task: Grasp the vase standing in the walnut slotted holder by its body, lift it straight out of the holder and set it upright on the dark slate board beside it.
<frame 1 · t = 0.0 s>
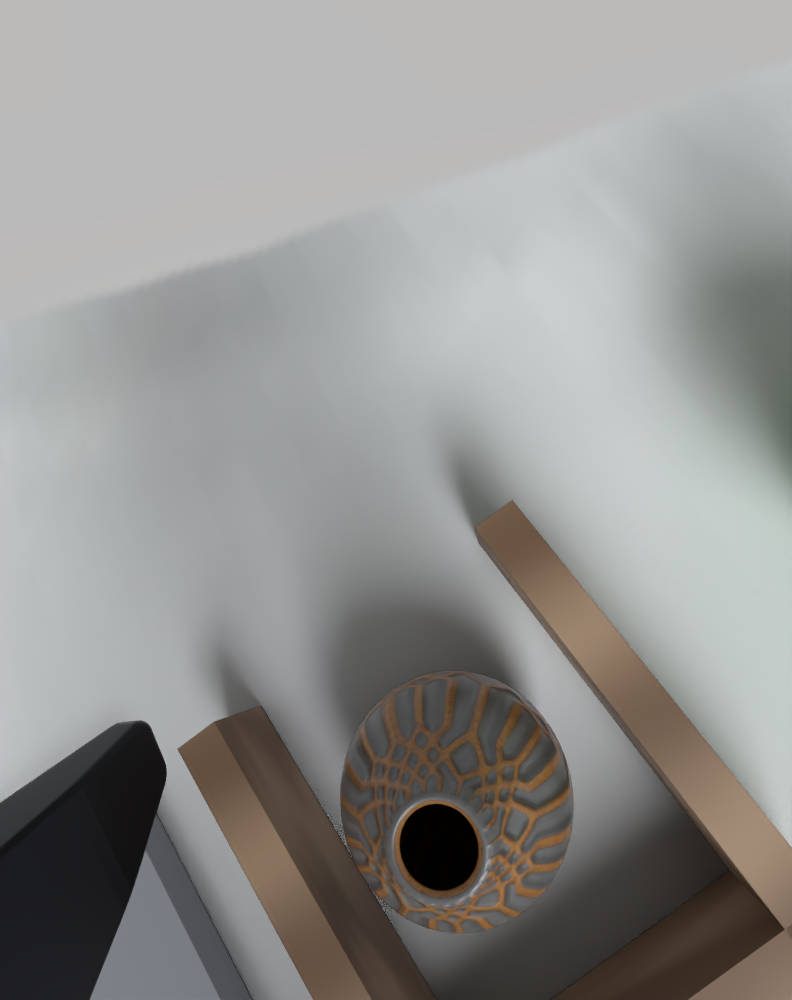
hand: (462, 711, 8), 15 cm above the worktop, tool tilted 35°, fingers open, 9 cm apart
vase: (463, 761, 22), on the worktop
holder: (462, 762, 22), on the worktop
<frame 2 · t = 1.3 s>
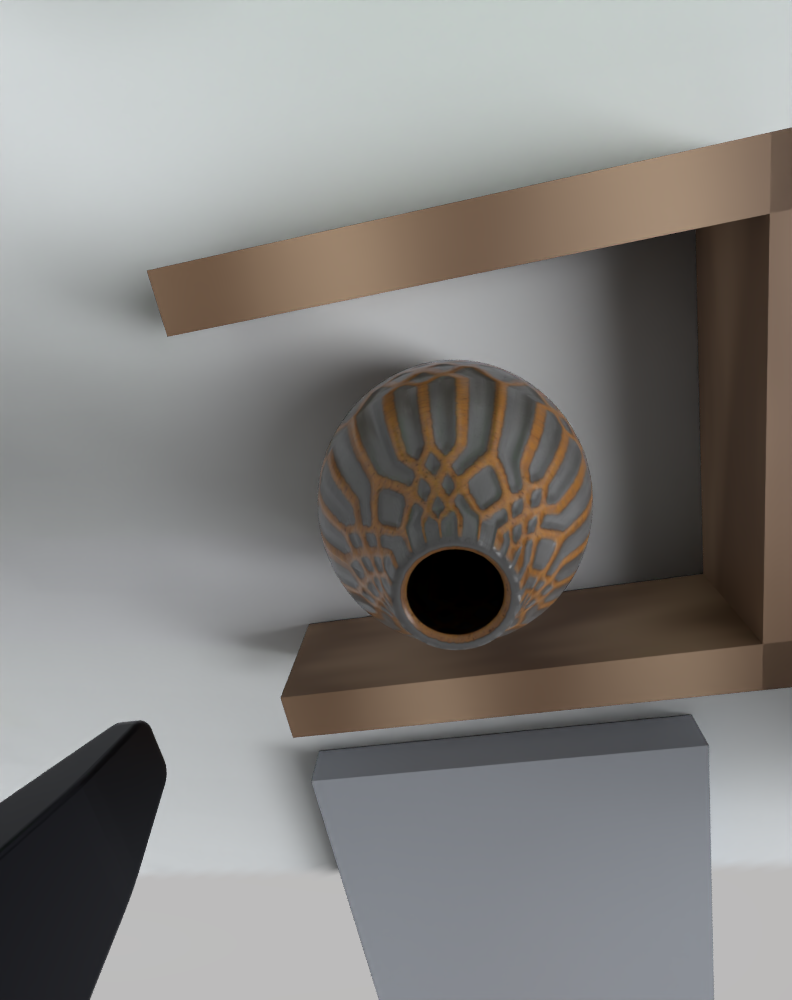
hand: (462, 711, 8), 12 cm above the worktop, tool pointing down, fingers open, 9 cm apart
vase: (450, 455, 19), on the worktop
board: (520, 867, 25), on the worktop
holder: (450, 457, 19), on the worktop
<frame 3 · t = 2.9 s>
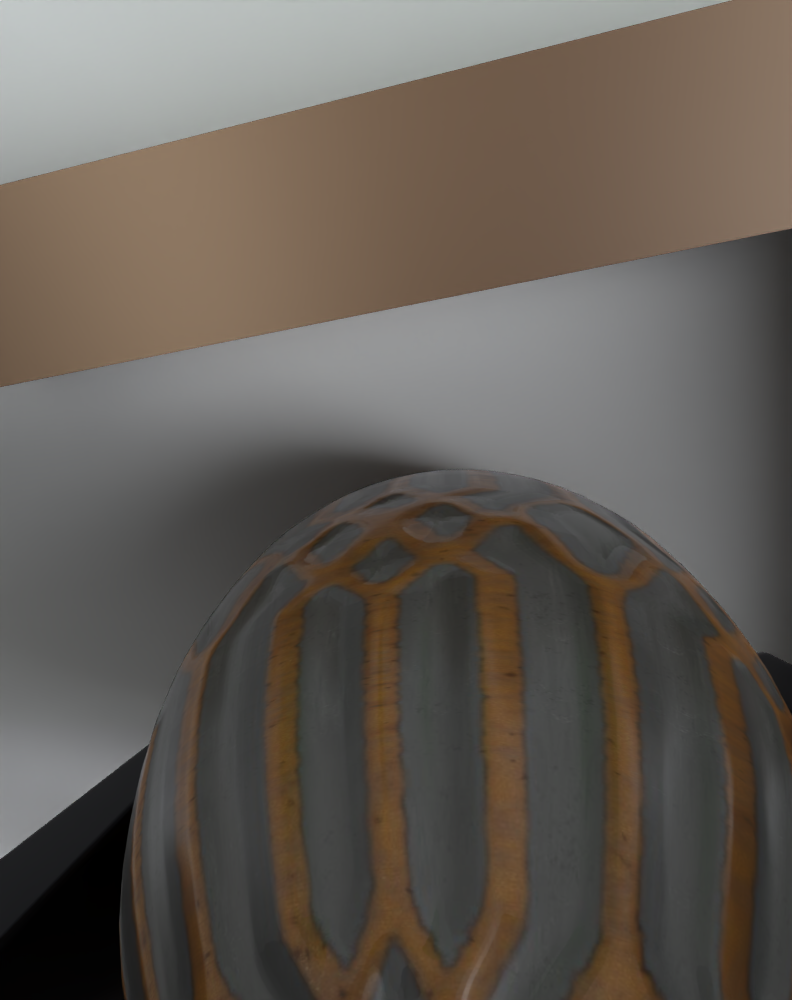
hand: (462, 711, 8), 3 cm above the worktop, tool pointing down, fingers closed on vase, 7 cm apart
vase: (456, 606, 11), on the worktop, touching gripper
holder: (456, 613, 10), on the worktop
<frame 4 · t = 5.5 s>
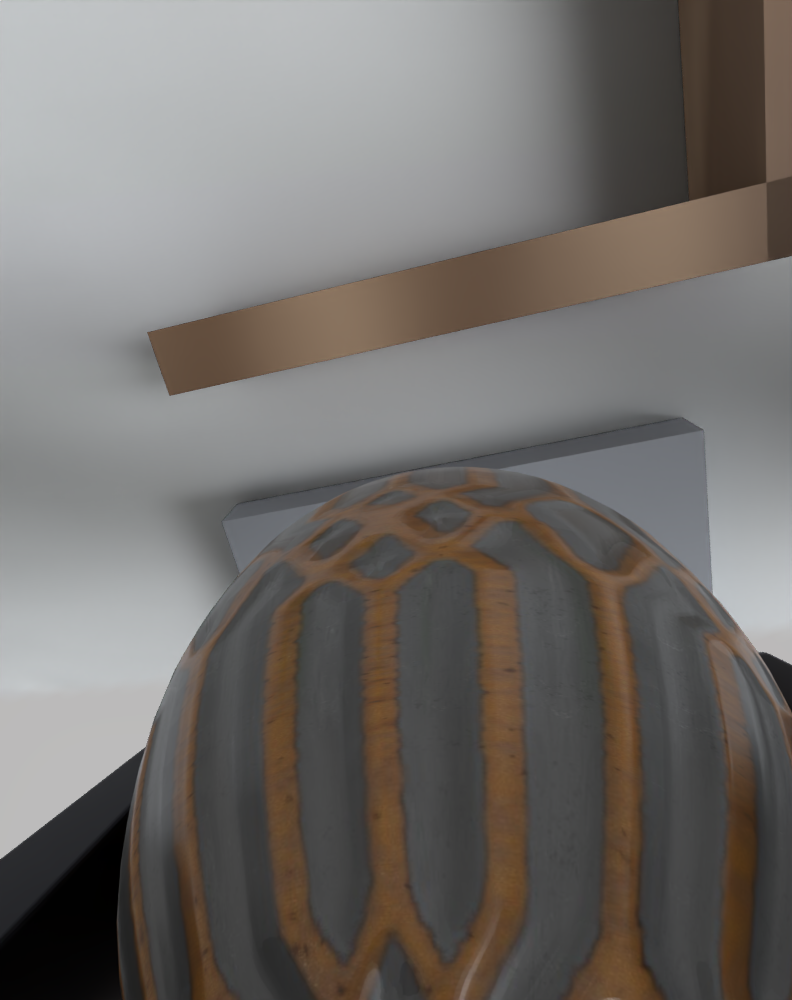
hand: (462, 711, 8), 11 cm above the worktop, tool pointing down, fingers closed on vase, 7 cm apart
vase: (455, 605, 11), point 9 cm above the worktop, touching gripper
board: (486, 651, 21), on the worktop
holder: (364, 50, 15), on the worktop
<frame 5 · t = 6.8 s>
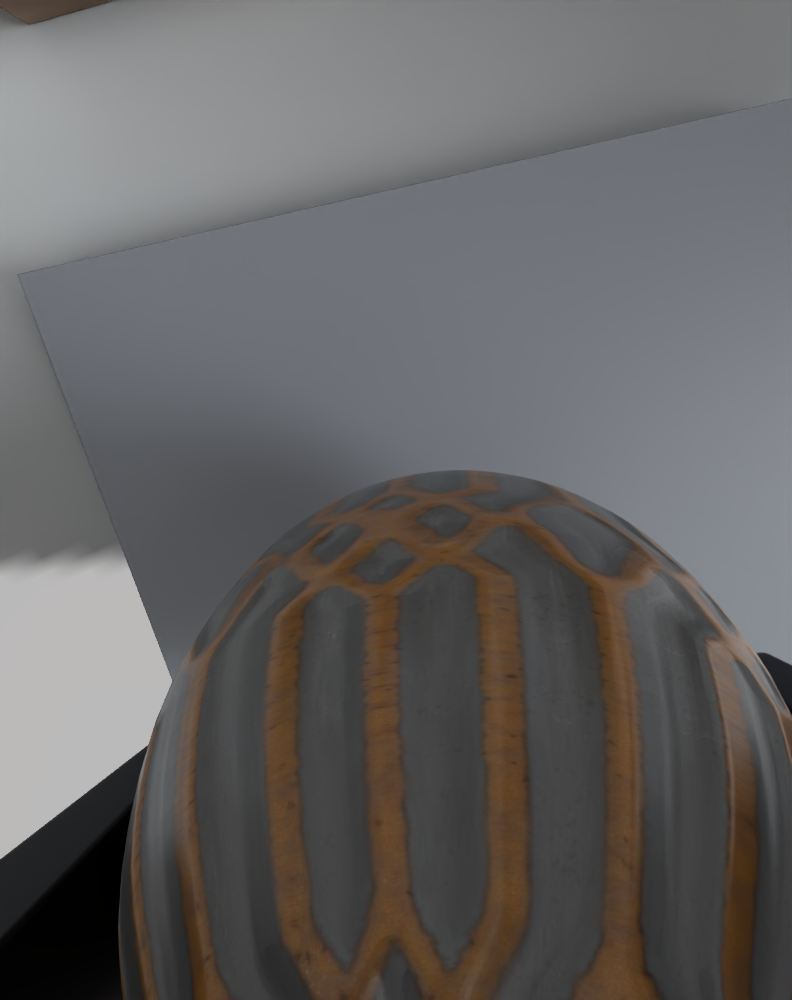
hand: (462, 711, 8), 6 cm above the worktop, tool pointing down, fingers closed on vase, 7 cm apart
vase: (455, 607, 11), point 4 cm above the worktop, touching gripper
board: (448, 528, 14), on the worktop
when the fingers open (5 cm above the worktop, at t = 8.0 s): vase stays where it is, resting on board.
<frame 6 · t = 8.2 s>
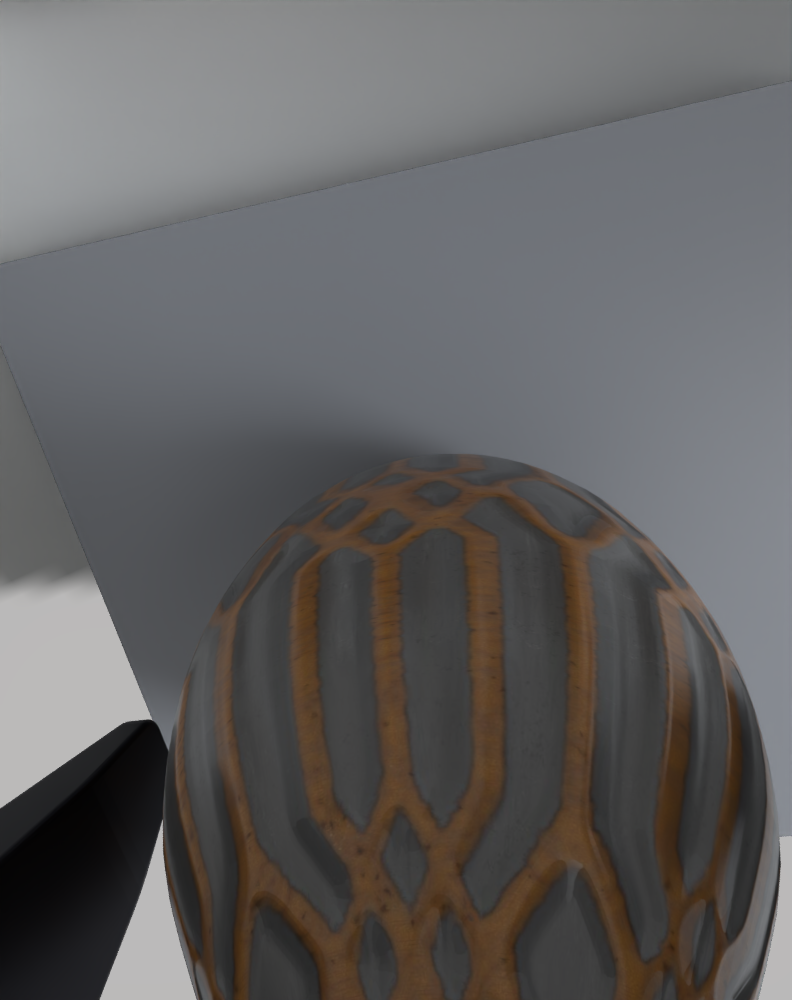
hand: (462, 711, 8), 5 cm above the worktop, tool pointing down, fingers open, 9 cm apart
vase: (449, 583, 12), point 1 cm above the worktop, touching board
board: (455, 551, 13), on the worktop
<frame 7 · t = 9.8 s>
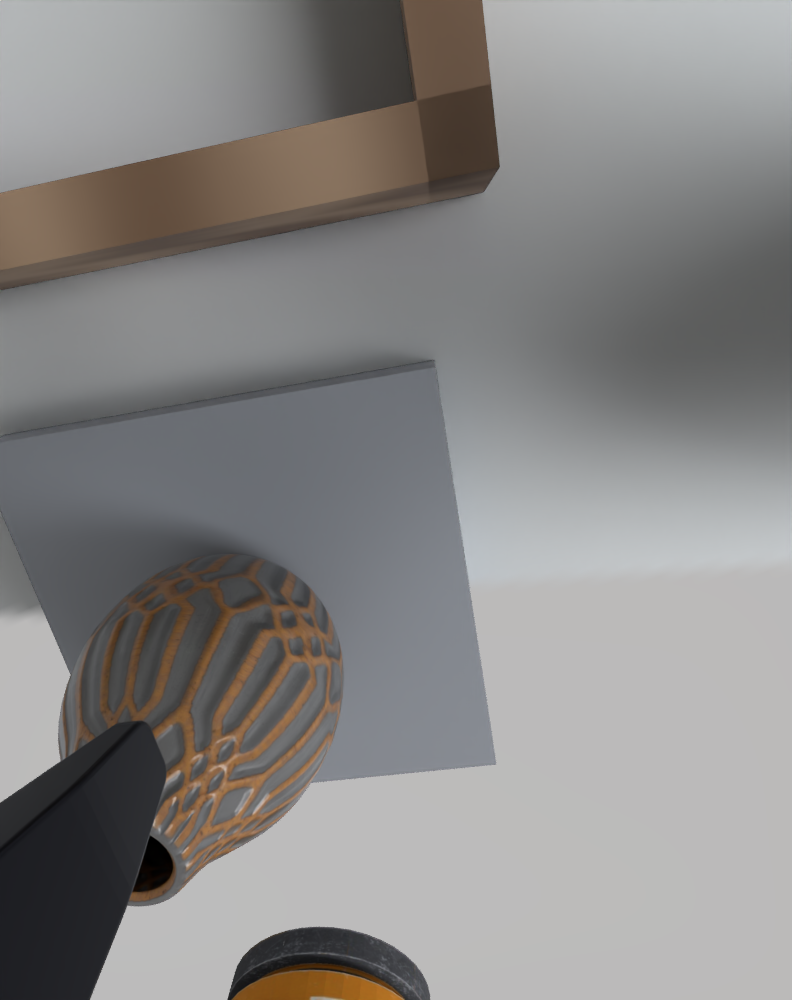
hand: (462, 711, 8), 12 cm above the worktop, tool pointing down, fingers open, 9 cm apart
vase: (253, 616, 20), point 1 cm above the worktop, touching board
board: (267, 595, 21), on the worktop
canister: (312, 973, 28), on the worktop
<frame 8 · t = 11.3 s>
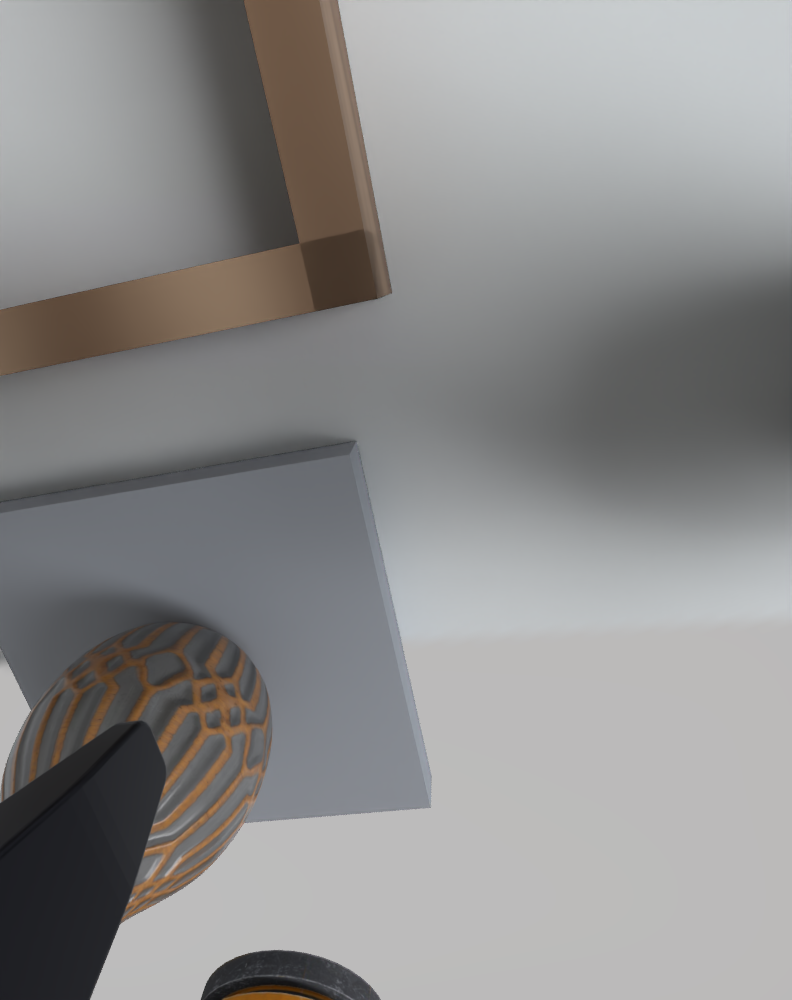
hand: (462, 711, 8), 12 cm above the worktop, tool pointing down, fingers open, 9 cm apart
vase: (199, 672, 21), point 1 cm above the worktop, touching board
board: (216, 649, 23), on the worktop
holder: (26, 102, 17), on the worktop
canister: (278, 991, 30), on the worktop
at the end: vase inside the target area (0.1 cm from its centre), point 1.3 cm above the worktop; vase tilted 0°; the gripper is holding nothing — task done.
